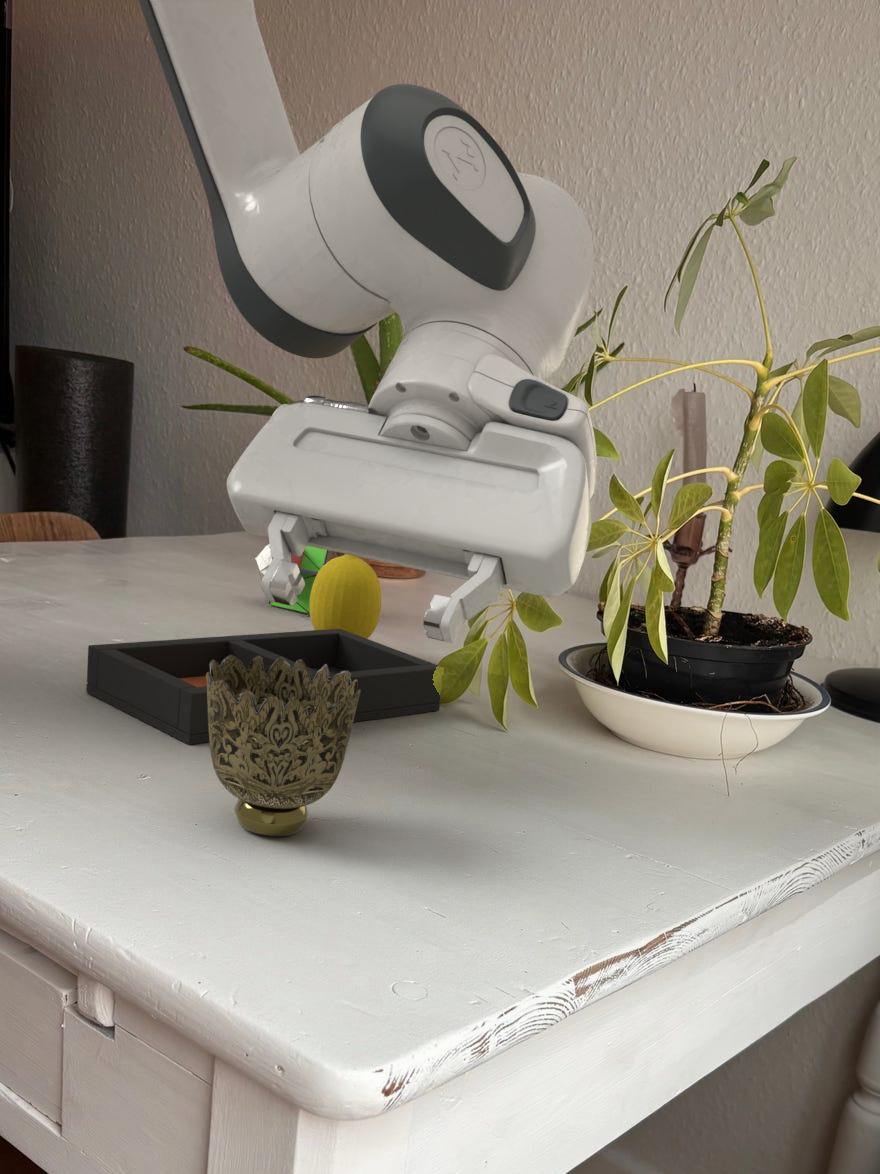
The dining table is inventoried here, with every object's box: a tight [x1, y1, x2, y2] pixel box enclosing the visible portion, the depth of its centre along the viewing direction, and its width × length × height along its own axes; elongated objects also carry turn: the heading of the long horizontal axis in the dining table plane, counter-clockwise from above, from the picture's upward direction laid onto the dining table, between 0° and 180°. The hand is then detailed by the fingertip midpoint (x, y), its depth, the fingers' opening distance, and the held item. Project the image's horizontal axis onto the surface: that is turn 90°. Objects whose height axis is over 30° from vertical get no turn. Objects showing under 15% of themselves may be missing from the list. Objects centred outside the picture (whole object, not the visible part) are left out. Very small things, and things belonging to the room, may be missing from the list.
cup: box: [206, 655, 361, 837], centre depth 64 cm, size 8×7×8 cm
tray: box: [86, 629, 442, 746], centre depth 85 cm, size 11×21×3 cm, turn 137°
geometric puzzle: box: [254, 543, 335, 616], centre depth 113 cm, size 7×7×8 cm
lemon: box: [309, 554, 382, 639], centre depth 100 cm, size 6×6×8 cm
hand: (355, 615), depth 67 cm, fingers open, 8 cm apart
